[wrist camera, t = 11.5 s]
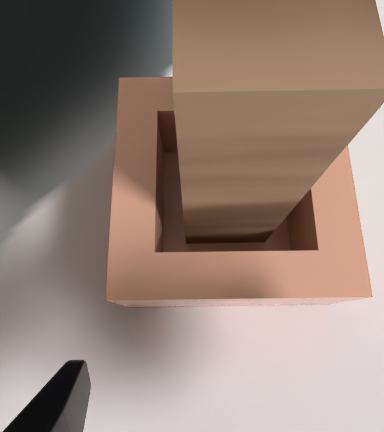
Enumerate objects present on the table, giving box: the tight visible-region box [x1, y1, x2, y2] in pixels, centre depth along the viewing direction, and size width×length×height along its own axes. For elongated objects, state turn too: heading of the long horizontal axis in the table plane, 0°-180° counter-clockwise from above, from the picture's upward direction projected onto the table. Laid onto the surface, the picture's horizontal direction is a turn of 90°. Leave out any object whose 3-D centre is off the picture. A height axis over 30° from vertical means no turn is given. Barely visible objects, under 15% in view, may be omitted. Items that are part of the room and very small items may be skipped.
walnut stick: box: [173, 0, 384, 244], centre depth 13 cm, size 4×4×12 cm
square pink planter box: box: [106, 77, 372, 307], centre depth 16 cm, size 10×10×6 cm
